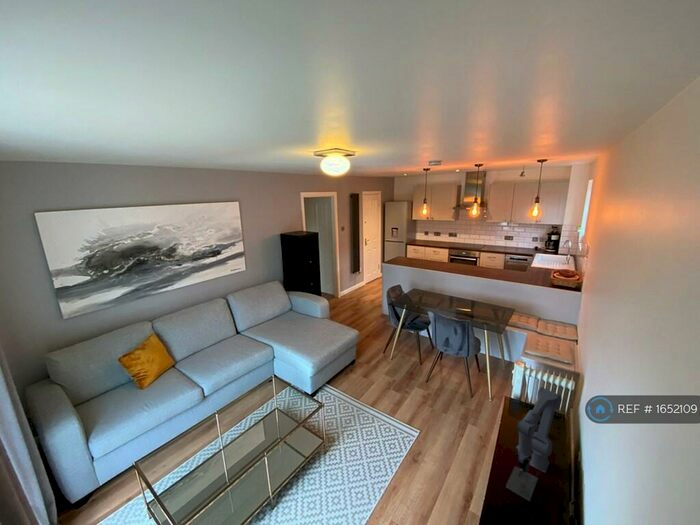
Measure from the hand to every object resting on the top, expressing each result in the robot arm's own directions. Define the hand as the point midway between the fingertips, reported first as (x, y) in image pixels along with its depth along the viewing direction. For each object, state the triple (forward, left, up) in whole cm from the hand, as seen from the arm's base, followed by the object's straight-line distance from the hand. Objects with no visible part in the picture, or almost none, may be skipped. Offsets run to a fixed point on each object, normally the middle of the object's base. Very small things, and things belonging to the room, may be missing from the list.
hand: (524, 465), depth 153 cm
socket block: (+3, 0, -10) cm, 10 cm away
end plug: (0, 0, -3) cm, 3 cm away
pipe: (-41, -3, -10) cm, 42 cm away
